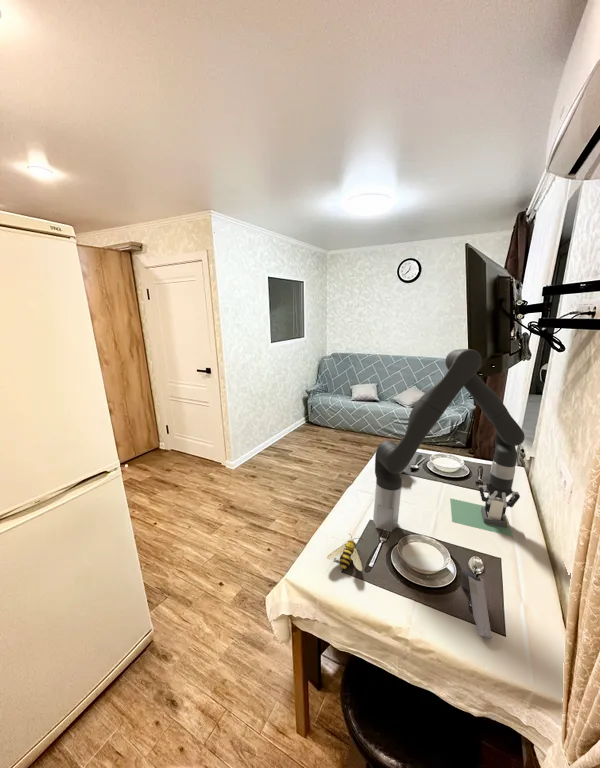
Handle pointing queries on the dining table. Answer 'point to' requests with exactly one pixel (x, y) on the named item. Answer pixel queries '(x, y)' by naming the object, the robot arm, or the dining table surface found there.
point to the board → (477, 517)
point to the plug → (496, 509)
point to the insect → (347, 555)
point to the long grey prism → (477, 601)
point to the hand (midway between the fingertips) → (494, 512)
